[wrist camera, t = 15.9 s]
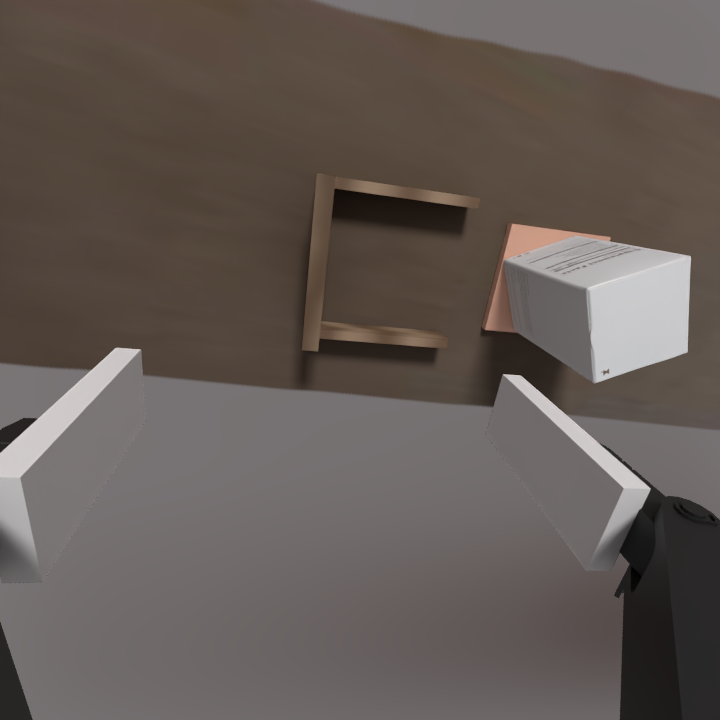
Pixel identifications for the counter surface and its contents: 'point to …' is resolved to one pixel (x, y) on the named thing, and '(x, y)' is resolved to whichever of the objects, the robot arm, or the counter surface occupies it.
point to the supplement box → (601, 304)
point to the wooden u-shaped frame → (318, 265)
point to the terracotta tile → (515, 244)
